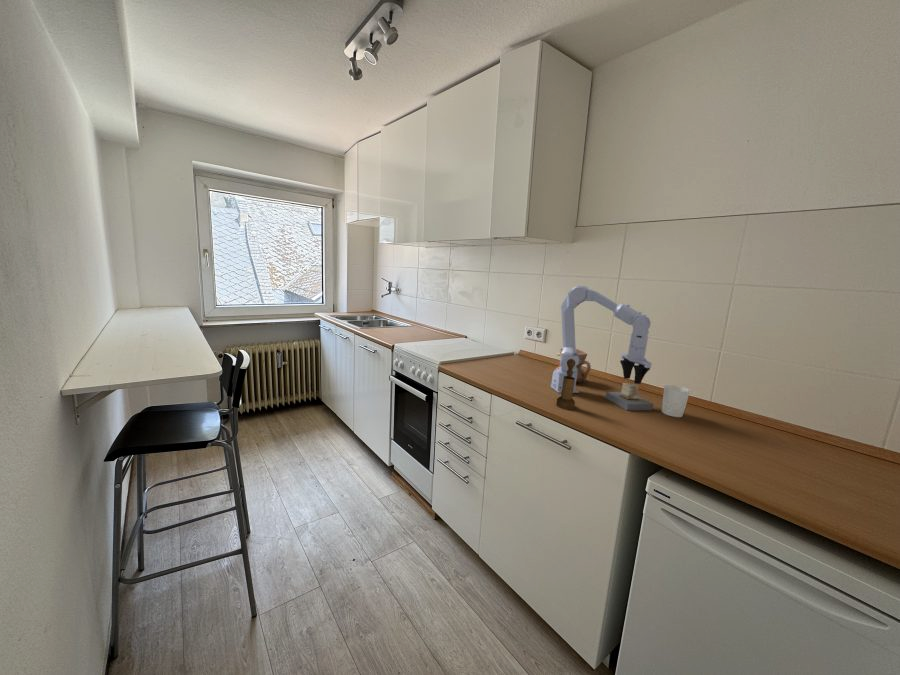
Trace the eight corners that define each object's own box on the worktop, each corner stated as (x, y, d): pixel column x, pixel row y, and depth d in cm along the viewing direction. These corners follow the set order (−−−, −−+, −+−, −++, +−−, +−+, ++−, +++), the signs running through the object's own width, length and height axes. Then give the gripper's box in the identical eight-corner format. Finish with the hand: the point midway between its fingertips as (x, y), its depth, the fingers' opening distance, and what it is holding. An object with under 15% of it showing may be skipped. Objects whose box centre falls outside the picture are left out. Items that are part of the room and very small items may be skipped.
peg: (626, 405, 139) (629, 386, 137) (619, 402, 143) (622, 382, 141) (635, 405, 139) (639, 386, 138) (628, 402, 143) (631, 382, 142)
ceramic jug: (545, 376, 172) (548, 347, 169) (565, 373, 180) (568, 345, 177) (576, 388, 157) (581, 357, 154) (596, 384, 165) (601, 354, 162)
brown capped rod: (575, 410, 130) (582, 362, 127) (557, 408, 131) (563, 360, 128) (573, 404, 136) (579, 358, 133) (555, 401, 137) (561, 356, 134)
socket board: (626, 410, 134) (627, 404, 133) (605, 397, 146) (606, 392, 146) (652, 410, 136) (653, 403, 135) (629, 397, 148) (630, 392, 148)
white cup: (660, 414, 132) (665, 388, 130) (659, 408, 139) (663, 383, 137) (685, 419, 128) (690, 393, 126) (683, 413, 135) (688, 387, 133)
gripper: (661, 351, 131) (654, 387, 133) (634, 343, 145) (628, 375, 147) (644, 350, 129) (637, 386, 132) (618, 342, 143) (613, 375, 146)
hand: (631, 380), depth 139 cm, fingers open, 6 cm apart
